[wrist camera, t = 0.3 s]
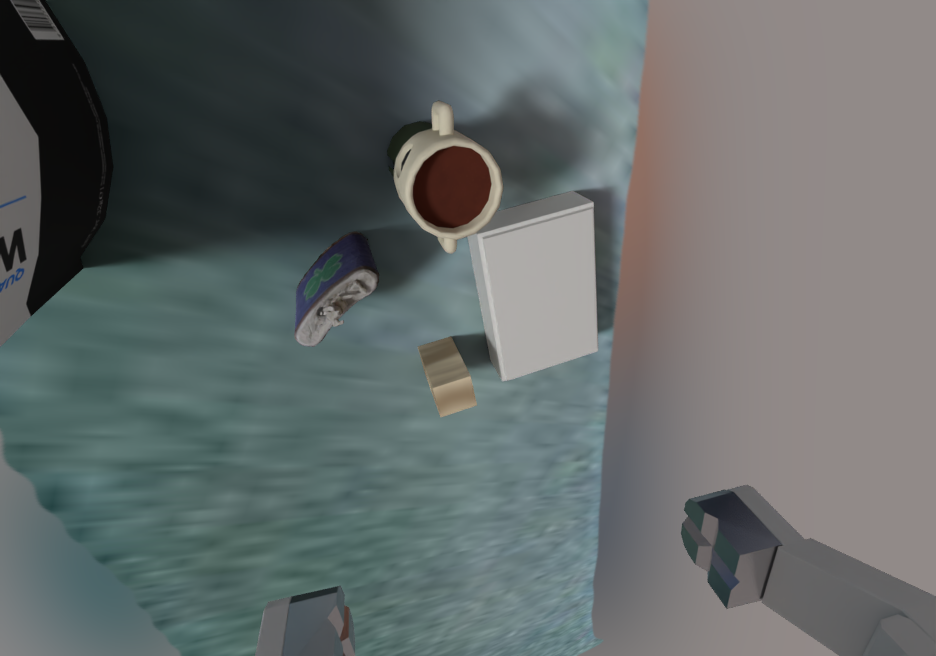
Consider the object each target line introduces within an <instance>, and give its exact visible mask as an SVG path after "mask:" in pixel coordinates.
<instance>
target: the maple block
mask: <svg viewBox="0 0 936 656" xmlns="http://www.w3.org/2000/svg"><path fill="white" fill-rule="evenodd" d="M418 350H419V353H420V357H421V360H422V364H423V367H424V371H425V374H426V377H427V380H428V383H429V386H430V389H431V391H432V394H433V397H434V400H435V403H436V406H437V408H438V411H439V414H440V417H443V416H446V415H449V414H452V413H455V412H458V411H461V410H464V409H467V408H470V407H473V406H476V405H477V403H476V399H475V394H474V390H473V385H472V381H471V376H470V374H469V372H468V370H467V368H466V366H465V364H464V362H463V360H462V358H461V356H460V354H459V351H458V349H457V347H456V345H455V343H454V341H453V339H452V337H448V338H444V339H441V340H438V341H435V342H431V343H428V344H425V345H422V346H418Z"/></svg>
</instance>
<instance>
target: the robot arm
mask: <svg viewBox="0 0 936 656" xmlns="http://www.w3.org/2000/svg"><path fill="white" fill-rule="evenodd" d="M684 511H685V512H686V514H687V515H688V517H687V519H686V520H685V521H684V522H683V523H682V531H681V535H682V539H683V543H684V546H685V548H686V550H687V552H688V554H689V556H690V557H691V559H692V560H693V562H694V563H695V565H697V566H699V567H701V568H702V569H705V570H706V571H708V583H709V584H710V586H711V587H712V589H713V590H714V592H715V593H716V594H717V596H718V597H719V599H720V600H721V601H722V603H723V604H724V606H725V607H726V608H727V609H728V608H732V607H736V606H740V605H744V604H748V603H752V602H757V601H761V600H762V603H763V604H765V605H766V606H767V607H769V608H770V609H772V610H773V611H775V612H776V613H778V614H779V615H781V616H782V617H783V618H785V619H786V620H788V621H790V622H791V623H792V624H794V625H795V626H797V627H798V628H800V629H801V630H802V631H804V632H806V633H807V634H808V635H810V636H811V637H813V638H814V639H816V640H817V641H818V642H820V643H822V644H823V645H824V646H826V647H827V648H829V649H830V650H832V651H833V652H835V653H836V654H838V655H839V656H936V596H934V595H932V594H930V593H928V592H925V591H923V590H921V589H919V588H917V587H915V586H912V585H910V584H908V583H906V582H904V581H902V580H900V579H897V578H895V577H893V576H891V575H889V574H887V573H885V572H882V571H880V570H878V569H876V568H874V567H871V566H869V565H867V564H865V563H863V562H861V561H859V560H857V559H854V558H852V557H850V556H848V555H846V554H844V553H842V552H839V551H837V550H835V549H833V548H831V547H829V546H827V545H824V544H822V543H820V542H818V541H816V540H814V539H811V538H810V539H804V538H803V537H802V536H801V535H800V534H799V533H798V532H797V531H796V530H795V529H794V528H793V527H792V526H791V525H790V524H789V523H788V522H787V521H786V520H785V519H784V518H783V517H782V516H781V515H780V514H779V513H778V512H777V511H776V510H775V509H774V508H773V507H772V506H771V505H770V504H769V503H768V502H767V501H766V500H765V499H764V498H763V497H762V496H761V495H760V494H759V493H758V492H757V491H756V490H755V489H754V488H753V487H751V486H749V485H743V486H740V487H736V488H732V489H728V490H721V491H717V492H714V493H710V494H707V495H703V496H699V497H695V498H691V499H689V500H688V501H687V502H686V503H685V508H684ZM344 600H345V595H344V592H343V590H342V587H341V586H336V587H332V588H327V589H323V590H318V591H314V592H310V593H305V594H301V595H296V596H291V597H287V598H283V599H279V600H275V601H270V602H268V603H267V605H266V607H265V610H264V612H263V617H262V623H261V628H260V633H259V639H258V644H257V649H256V654H255V656H355V635H354V624H353V619H352V615H351V612H350V609H349V607H347V606H345V605H344Z"/></svg>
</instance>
